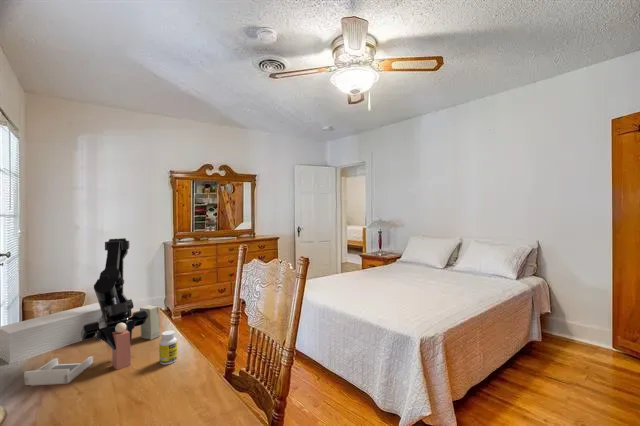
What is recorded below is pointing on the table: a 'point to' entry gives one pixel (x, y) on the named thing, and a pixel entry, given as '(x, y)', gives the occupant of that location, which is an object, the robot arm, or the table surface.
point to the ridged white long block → (46, 332)
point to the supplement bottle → (168, 348)
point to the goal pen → (56, 372)
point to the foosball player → (121, 347)
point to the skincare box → (151, 322)
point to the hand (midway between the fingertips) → (122, 346)
